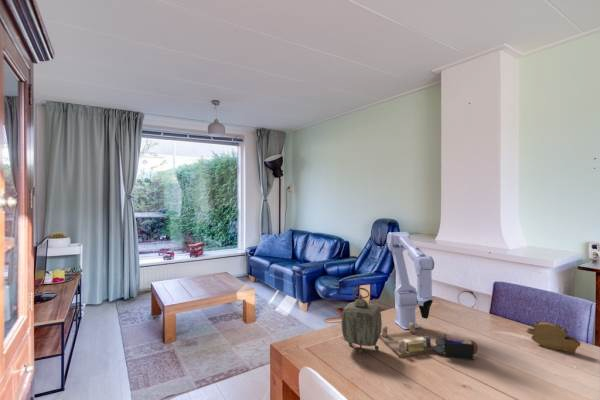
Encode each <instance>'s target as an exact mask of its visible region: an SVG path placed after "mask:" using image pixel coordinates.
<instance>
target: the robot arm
mask: <svg viewBox="0 0 600 400" xmlns="http://www.w3.org/2000/svg"><path fill="white" fill-rule="evenodd" d="M386 243H387V247H388V250H389V252H391V255H392V258H393V263H394V267H395V268H394V269H395V272H396V277H397V282H398V286H396V288H395V290H394V291H393V292H394V301H395V305H396V307H395V320H393V322H394V323H395V324H397V325H398V326H399V327H400V328H401V329H403V330H410V323H415V329H420V328H421V327H420V325H418V324H416V319H417V318H416V308H419V311H420V315H421V319H428V318H429V315H430V310H431V306H432V304H433V303H434V301H433V300H435V299H436V296H433V288H432V287H433V284H432V281H433V280H432V278H433V277H432V276H433V274H432V271H433V270H434V268H435V261H434V259H433V257H432V256H431V255H428V254H425V252H424V251H423V250H422V249H421V248H420V247H419V246H418V245H414V244H413V242H412V241H411V234H410V233H409V232H408V231H396V232H391V231H389V232H388V233H387V235H386ZM406 250H407V256H408V257H409V258H410V259H411V260H412V262H413V266H414V269H415V270H414V271H415V274H416V288H415V287H414V286H413V285H412V284H410V279H409V275H408V270H407V266H406V261H405V257H404V254H403V253H404V251H406Z"/></svg>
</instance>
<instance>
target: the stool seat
mask: <svg viewBox="0 0 600 400" xmlns="http://www.w3.org/2000/svg"><path fill="white" fill-rule="evenodd" d="M418 337H423V335H421V334H419V332H417V331H416V328H415V323H410V329H409V331H401V332H395V333H394V332H393V333H388V326H387V325H382V327H381V334H380V337H379V339H380V341H381V342H382V343H384V345H386V346H387V348H389V349H390V350H391V351H392V353H394V354H395V355H396V356H397V357H398V358H406V357H413V356H418V355H425V354H434V353H436V352H435V350H434V346H435V344H434V343H432V342H431V346H430V347H424V346H423V342H422V341H417V342H410V343H407V350H405V341H403V340H405V339H411V338H418Z"/></svg>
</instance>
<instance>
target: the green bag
mask: <svg viewBox="0 0 600 400" xmlns="http://www.w3.org/2000/svg"><path fill="white" fill-rule="evenodd" d="M355 290H362V291H365V292H366V293H367V295H366V296H363V295H362V294H358V295H356V294H354V291H355ZM351 294H352V296H353V297H355V298H356V299H355V300H354V301H352V302H349V303H348V304H347V305H346V306H345V307H344V308H343V310H342V312H341V313H342V314H341V323H340V324H341V333H342V337H343V339H344V341H345V342H348V345H349V346H352V345H353V344H354V345H359V349H358V354H363V352H364V351H363V349H362V346H364V347H373V346H374V350H376V351H378V350H379V345H377V342H378V341H379V339H380V338H379V337H380V335H382V326H383V325H382V324H383V323H382V313H381V310H380V307H379V306H378V305H376V304H374V303H370V302H369V303H368V302H367V300H366V299H367V298H369V296H370V292H369V291H368V289H366V288H364V287H355V288H353V289H352V291H351Z"/></svg>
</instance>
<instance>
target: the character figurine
mask: <svg viewBox="0 0 600 400" xmlns="http://www.w3.org/2000/svg"><path fill="white" fill-rule="evenodd" d="M434 341H435V342H434V343H435V344H436V345H435V344H434V345H435V346H434V350H435V353H437V354H439V355H443V354H444V357H448V358H455V359H464V360H469V361H473V360H474V355H476V354H477V353H478V350H479V347H478V344H477V343H476V342H475V341H474V340H473V339H466V340H464V341H459V340H452V339H450V338H447V337H446V334H444V335H443V337H439V336H438V337H435V340H434Z"/></svg>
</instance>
